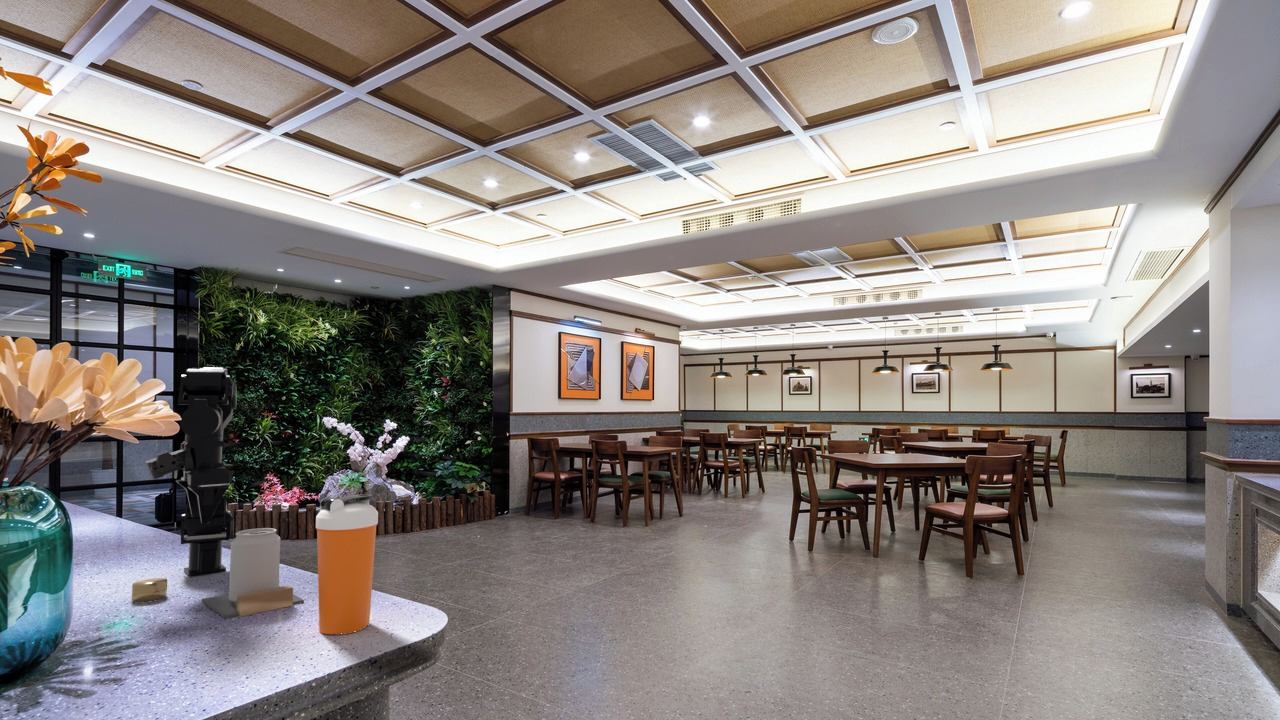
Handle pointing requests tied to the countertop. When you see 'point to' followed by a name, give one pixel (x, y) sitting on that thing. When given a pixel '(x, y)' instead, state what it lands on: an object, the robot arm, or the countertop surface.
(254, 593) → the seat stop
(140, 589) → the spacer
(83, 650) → the countertop surface
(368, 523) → the shaker bottle
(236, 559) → the can
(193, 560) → the robot arm
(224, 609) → the seat pad
